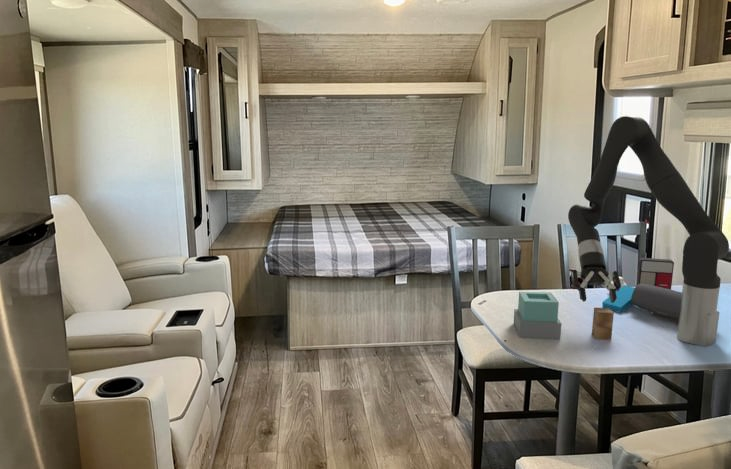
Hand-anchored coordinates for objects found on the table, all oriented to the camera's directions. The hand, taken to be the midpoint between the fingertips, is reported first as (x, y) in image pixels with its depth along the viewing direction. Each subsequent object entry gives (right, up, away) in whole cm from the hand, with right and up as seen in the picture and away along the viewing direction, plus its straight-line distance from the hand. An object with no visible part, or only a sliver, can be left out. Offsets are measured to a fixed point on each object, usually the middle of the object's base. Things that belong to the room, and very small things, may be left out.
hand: (598, 301), depth 169 cm
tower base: (-19, -10, +1) cm, 21 cm away
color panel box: (+34, -4, +34) cm, 48 cm away
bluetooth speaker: (+29, -8, +12) cm, 32 cm away
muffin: (+24, -2, +40) cm, 47 cm away
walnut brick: (-1, -10, -3) cm, 11 cm away
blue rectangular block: (+21, -5, +27) cm, 34 cm away
